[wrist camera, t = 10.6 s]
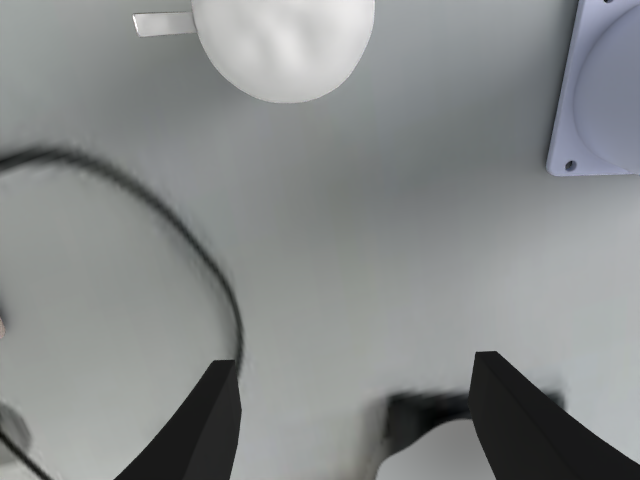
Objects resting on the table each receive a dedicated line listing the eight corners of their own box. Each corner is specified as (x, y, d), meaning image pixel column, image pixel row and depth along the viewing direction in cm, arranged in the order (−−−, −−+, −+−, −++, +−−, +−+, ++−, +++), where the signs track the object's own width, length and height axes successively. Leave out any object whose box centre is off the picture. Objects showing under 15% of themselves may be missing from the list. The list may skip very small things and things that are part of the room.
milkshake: (209, -35, 17) (96, -109, 8) (343, -55, 17) (380, -152, 8) (233, 85, 19) (163, 132, 10) (354, 69, 19) (392, 102, 10)
